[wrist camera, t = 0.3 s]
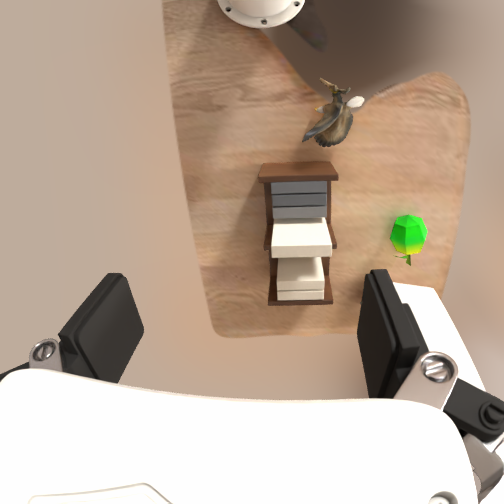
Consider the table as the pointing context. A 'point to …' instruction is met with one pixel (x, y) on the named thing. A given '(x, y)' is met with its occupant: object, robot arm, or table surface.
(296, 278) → the white books
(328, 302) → the book rack
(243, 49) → the table surface
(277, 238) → the white book
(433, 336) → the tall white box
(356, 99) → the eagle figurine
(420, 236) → the apple
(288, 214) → the grey books
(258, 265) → the table surface
